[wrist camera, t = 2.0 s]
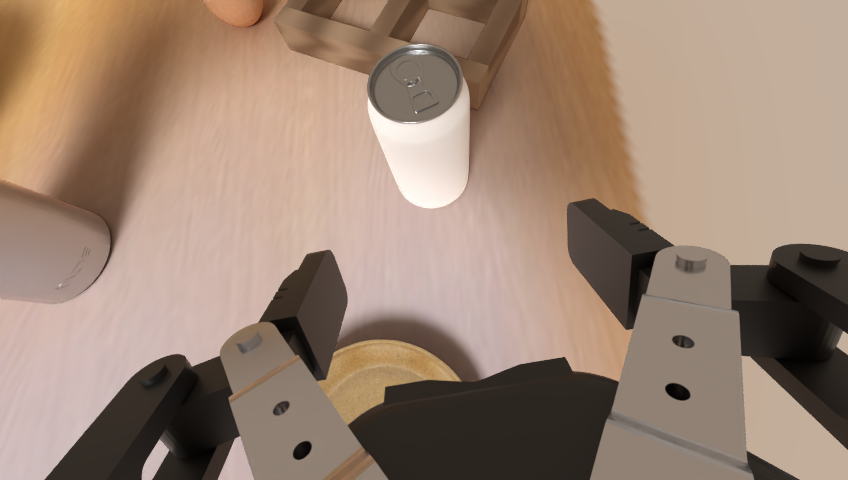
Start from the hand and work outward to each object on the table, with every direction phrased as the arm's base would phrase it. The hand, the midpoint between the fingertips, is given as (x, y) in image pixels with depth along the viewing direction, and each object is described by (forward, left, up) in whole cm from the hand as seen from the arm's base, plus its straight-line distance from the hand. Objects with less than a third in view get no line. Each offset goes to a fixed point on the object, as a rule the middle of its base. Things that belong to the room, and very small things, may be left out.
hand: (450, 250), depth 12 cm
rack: (-17, +24, -17) cm, 34 cm away
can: (-7, +10, -17) cm, 21 cm away
